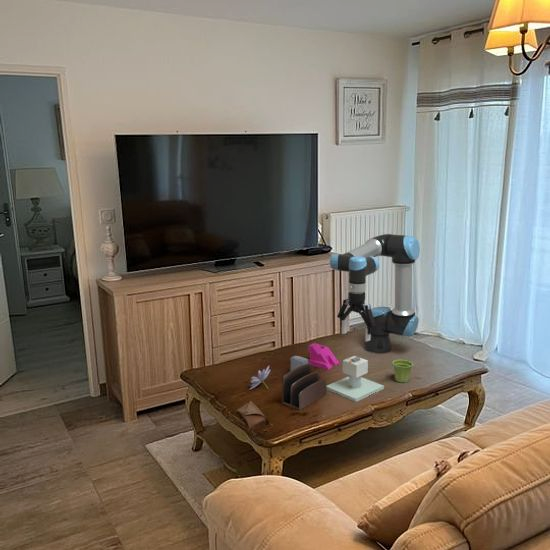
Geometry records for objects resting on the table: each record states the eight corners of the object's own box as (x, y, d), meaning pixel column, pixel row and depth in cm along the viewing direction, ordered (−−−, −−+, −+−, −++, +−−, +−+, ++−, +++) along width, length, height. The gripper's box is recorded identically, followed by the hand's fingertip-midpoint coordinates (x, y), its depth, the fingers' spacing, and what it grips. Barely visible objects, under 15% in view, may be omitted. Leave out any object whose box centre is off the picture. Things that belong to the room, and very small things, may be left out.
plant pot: (398, 374, 276) (399, 358, 274) (415, 380, 269) (416, 363, 267) (387, 380, 269) (388, 363, 267) (404, 386, 263) (405, 368, 261)
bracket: (308, 364, 289) (308, 345, 287) (319, 358, 297) (319, 340, 294) (328, 370, 282) (328, 350, 279) (339, 364, 290) (339, 345, 287)
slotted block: (354, 367, 263) (354, 354, 262) (367, 372, 258) (368, 359, 256) (342, 372, 258) (342, 359, 257) (356, 377, 252) (356, 364, 251)
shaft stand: (353, 377, 273) (354, 347, 269) (383, 388, 260) (385, 358, 256) (325, 389, 260) (325, 358, 256) (355, 402, 247) (356, 369, 243)
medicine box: (308, 375, 275) (308, 359, 273) (302, 378, 272) (302, 361, 270) (296, 371, 280) (296, 355, 278) (290, 374, 277) (290, 357, 275)
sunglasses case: (233, 410, 240) (241, 396, 240) (247, 415, 243) (254, 401, 243) (249, 429, 224) (257, 414, 224) (263, 434, 227) (271, 419, 227)
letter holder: (281, 404, 246) (281, 373, 242) (309, 389, 260) (309, 360, 257) (299, 410, 239) (299, 379, 236) (327, 395, 254) (327, 366, 251)
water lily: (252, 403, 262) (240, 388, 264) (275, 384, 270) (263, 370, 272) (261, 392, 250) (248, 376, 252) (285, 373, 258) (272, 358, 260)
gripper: (330, 288, 257) (329, 332, 262) (374, 298, 239) (372, 345, 244) (341, 285, 262) (340, 328, 267) (385, 295, 244) (383, 341, 249)
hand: (355, 337), depth 256 cm, fingers open, 13 cm apart
